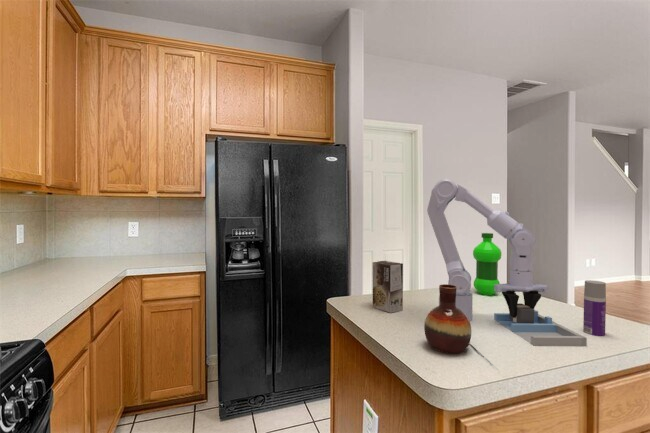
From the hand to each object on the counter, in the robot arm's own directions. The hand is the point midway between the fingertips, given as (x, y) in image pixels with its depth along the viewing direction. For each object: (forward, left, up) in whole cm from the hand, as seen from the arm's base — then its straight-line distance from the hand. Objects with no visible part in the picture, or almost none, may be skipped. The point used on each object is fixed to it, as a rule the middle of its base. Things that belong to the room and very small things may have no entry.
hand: (520, 316), depth 97 cm
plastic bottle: (+10, +42, -4) cm, 43 cm away
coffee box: (-35, +20, -4) cm, 40 cm away
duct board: (+2, -5, -4) cm, 6 cm away
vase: (-26, -13, -4) cm, 30 cm away
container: (+17, -5, -4) cm, 18 cm away
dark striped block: (0, 0, -1) cm, 1 cm away
